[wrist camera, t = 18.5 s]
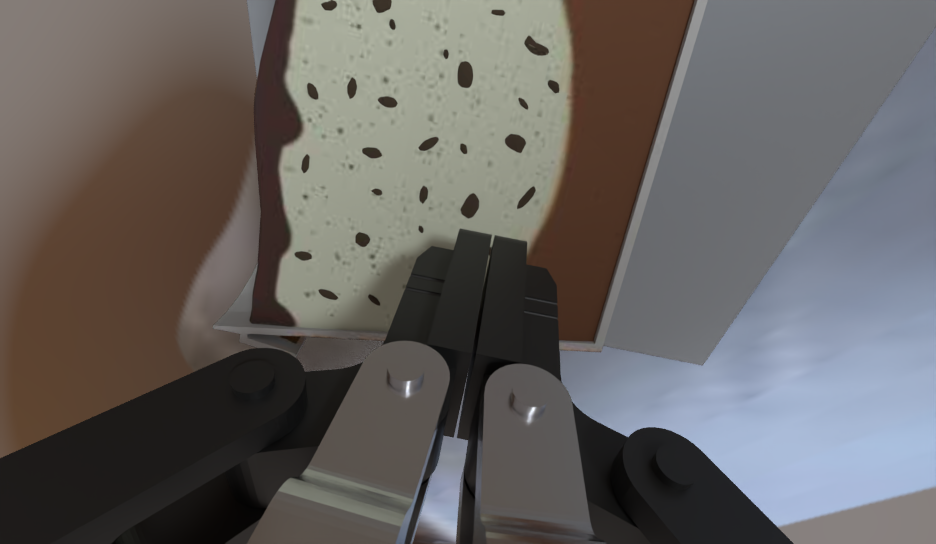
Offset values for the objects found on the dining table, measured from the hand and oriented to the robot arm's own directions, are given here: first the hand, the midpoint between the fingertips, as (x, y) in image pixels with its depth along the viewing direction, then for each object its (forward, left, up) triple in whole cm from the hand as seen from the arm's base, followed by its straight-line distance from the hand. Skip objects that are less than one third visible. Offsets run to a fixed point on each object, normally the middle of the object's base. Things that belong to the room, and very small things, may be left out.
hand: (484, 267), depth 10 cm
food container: (-3, -1, -5) cm, 6 cm away
